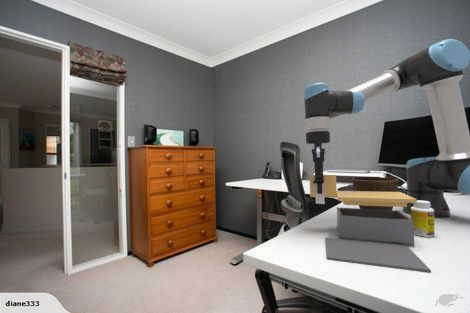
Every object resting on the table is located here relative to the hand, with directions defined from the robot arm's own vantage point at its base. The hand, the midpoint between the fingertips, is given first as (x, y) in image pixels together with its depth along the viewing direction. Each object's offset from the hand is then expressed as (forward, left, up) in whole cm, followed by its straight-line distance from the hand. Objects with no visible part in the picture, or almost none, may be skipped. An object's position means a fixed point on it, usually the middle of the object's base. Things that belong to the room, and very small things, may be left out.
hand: (320, 202), depth 74 cm
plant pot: (-19, -19, -10) cm, 29 cm away
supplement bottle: (-29, -6, -10) cm, 31 cm away
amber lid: (-11, 0, +1) cm, 11 cm away
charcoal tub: (-14, 0, -10) cm, 17 cm away
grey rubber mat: (-11, +14, -10) cm, 21 cm away
